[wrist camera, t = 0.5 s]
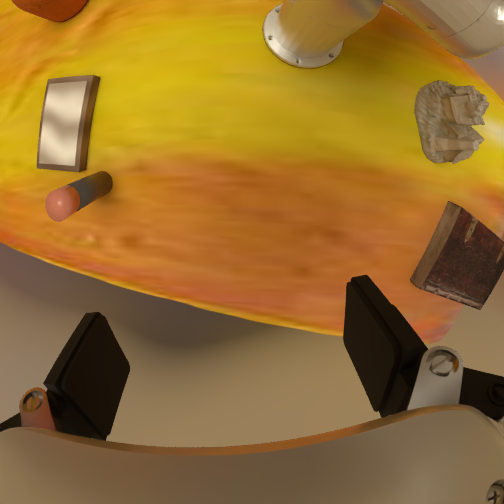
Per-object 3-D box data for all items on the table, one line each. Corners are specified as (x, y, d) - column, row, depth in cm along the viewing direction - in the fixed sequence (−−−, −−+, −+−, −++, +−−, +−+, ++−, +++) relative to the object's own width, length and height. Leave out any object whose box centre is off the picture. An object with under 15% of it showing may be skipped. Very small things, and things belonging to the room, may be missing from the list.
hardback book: (408, 278, 52) (420, 291, 48) (447, 200, 45) (462, 207, 41) (470, 301, 58) (480, 311, 53) (501, 243, 50) (513, 250, 46)
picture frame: (55, 80, 31) (47, 79, 29) (100, 77, 33) (92, 74, 30) (44, 165, 38) (35, 168, 35) (86, 169, 39) (78, 172, 36)
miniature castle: (419, 164, 41) (479, 178, 28) (407, 77, 35) (465, 65, 21) (468, 160, 42) (521, 174, 28) (459, 85, 36) (513, 83, 22)
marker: (93, 170, 39) (45, 189, 26) (113, 172, 40) (68, 192, 27) (91, 193, 41) (46, 219, 28) (111, 195, 41) (68, 223, 29)
